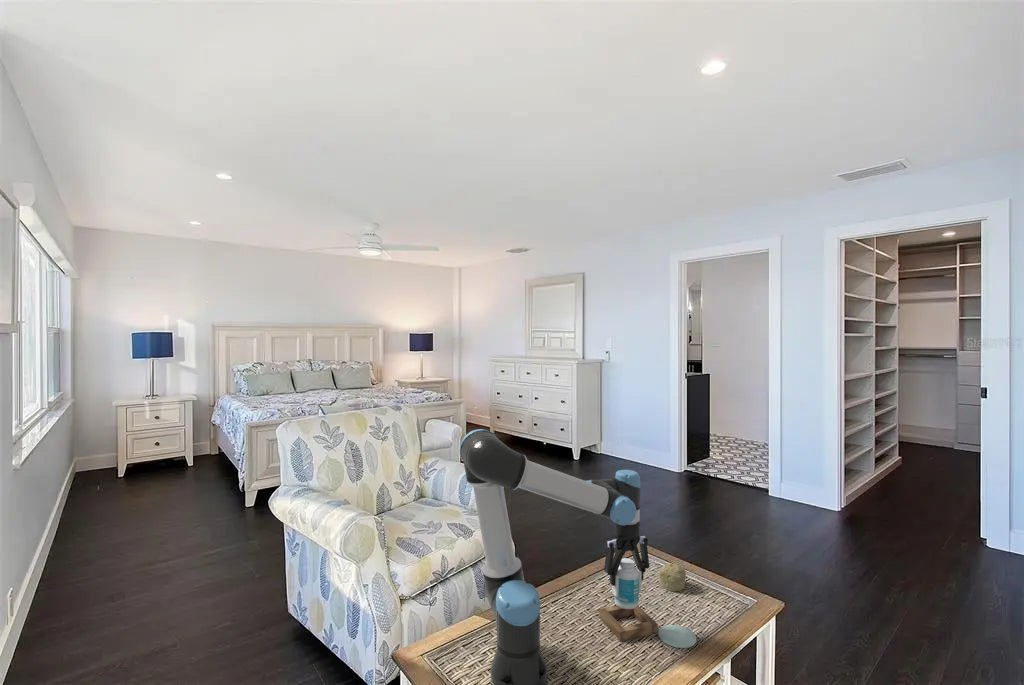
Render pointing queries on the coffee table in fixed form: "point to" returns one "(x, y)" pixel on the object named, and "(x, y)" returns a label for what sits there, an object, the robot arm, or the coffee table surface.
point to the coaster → (677, 636)
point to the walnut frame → (632, 631)
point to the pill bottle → (628, 585)
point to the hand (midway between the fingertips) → (626, 592)
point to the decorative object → (672, 577)
